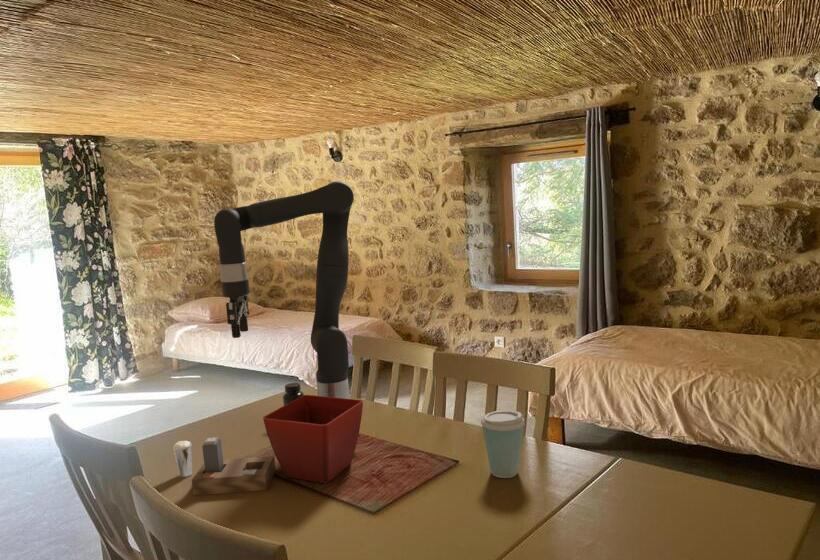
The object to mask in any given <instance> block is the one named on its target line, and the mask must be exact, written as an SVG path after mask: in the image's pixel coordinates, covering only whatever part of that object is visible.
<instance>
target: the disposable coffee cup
mask: <svg viewBox="0 0 820 560" xmlns="http://www.w3.org/2000/svg"><path fill="white" fill-rule="evenodd" d="M480 424H481V426H482V432H483V436H484V437H483V438H484V442H485V447H486V453H487V459H488V463H489V469H490V472H491V474H492V476H494V477H496V478H499V479H500V478H501V479H510V478H513V477H515V476H517V475H518V472H519V469H520V458H521V452H522V451H521V449H522V442H523V434H524V426H525V425H526V423H525V419H524V417H523V414H522V413H521V412H520V411H515V410H505V409H504V410H495V411H491V412H489V413H486V414H484V415H483V416H482V418H481V422H480Z"/></svg>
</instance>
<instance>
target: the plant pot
mask: <svg viewBox="0 0 820 560" xmlns="http://www.w3.org/2000/svg"><path fill="white" fill-rule="evenodd" d="M363 405H364V401H363V400H361V399H353V398H350V399H345V398H335V397H324V396H318V395H314V394H313V395H310V394H304V396H301V397H299V398H298V399H296V400H294V401H292V402H290V403H288V404H286V405H285V406H284V405H283V406H281V407H279V408H277V409H276V410H274V411H271V412H270V413H268V414H266V415H264V416H263V417H262V419H263V423H264V427H265V431H266V434H267V437H268V439H269V443H270V445H271V448H272V451H273V453H274V457H275V458H276V460H277V461H278V464H279V465H280V468H281V469H282V471H283V473H284V475H285V476H286V477H287V478H292V479H297V480H304V481H308V482H315V483H321V484H327V483H329V482H331V480H333V479H334V478H335V477H337V475H339V474H340V473H342V471H345V469H347V467H349V466H350V465H351V464H352V462H353V459H354V454H355V451H356V447H357V443H358V441H359V440H358V439H359V435H360V430H361V429H360V428H361V423H362V416H363V407H364V406H363Z"/></svg>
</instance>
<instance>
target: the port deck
mask: <svg viewBox="0 0 820 560" xmlns="http://www.w3.org/2000/svg"><path fill="white" fill-rule="evenodd" d="M223 463H224V469H223V471H222V472H218V473H217V472H212V473H205V465H204V463H203V464H202V465H201V467H200V468H199V469H198V471H197V472H196V473H195V475H193V477H192V479H191V487H192V495H193V496H201V495H215V494H229V493H241V492H252V491H253V492H255V491H257V492H258V491H266V490H268V488H269V485H270V484H271V481H272V479H273V476H274V474H275V472H276V469H277V468H276V462H275V455H269V456H268V455H267V456H266V455H265V456H254V457H253V456H252V457H241V458H240V457H239V458H228V459H227V458H226V459H224V458H223Z"/></svg>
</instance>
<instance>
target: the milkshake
mask: <svg viewBox="0 0 820 560" xmlns="http://www.w3.org/2000/svg"><path fill="white" fill-rule="evenodd" d="M192 441H193V438H191V440H190V441H188V440H179V441H177V442H176V443H175V444H174V445H173V447H172V448H173V449H172V450H173V453H174V457H175V461H176V466H177V467H176V468H177V472H178V476H179V477H180V478H187V477H189V476H192V474H193V456H192V451H193V450H192V443H193V442H192Z"/></svg>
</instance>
